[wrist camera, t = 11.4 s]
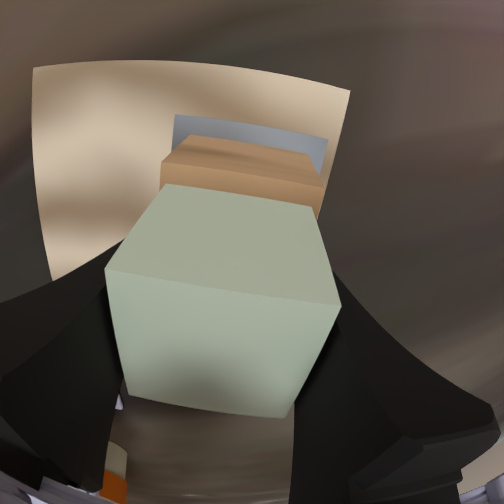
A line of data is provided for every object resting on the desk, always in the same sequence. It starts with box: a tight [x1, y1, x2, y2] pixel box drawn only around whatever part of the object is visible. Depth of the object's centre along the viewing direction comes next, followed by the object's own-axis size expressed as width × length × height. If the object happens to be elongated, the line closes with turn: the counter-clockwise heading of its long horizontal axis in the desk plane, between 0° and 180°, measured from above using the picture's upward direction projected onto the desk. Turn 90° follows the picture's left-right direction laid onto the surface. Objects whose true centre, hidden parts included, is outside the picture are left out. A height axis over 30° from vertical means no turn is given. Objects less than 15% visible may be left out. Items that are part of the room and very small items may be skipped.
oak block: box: [159, 135, 325, 220], centre depth 13 cm, size 5×5×4 cm
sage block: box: [105, 184, 341, 418], centre depth 9 cm, size 4×4×4 cm
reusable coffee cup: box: [99, 441, 127, 504], centre depth 31 cm, size 13×13×15 cm
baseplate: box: [32, 60, 350, 281], centre depth 17 cm, size 18×16×1 cm
